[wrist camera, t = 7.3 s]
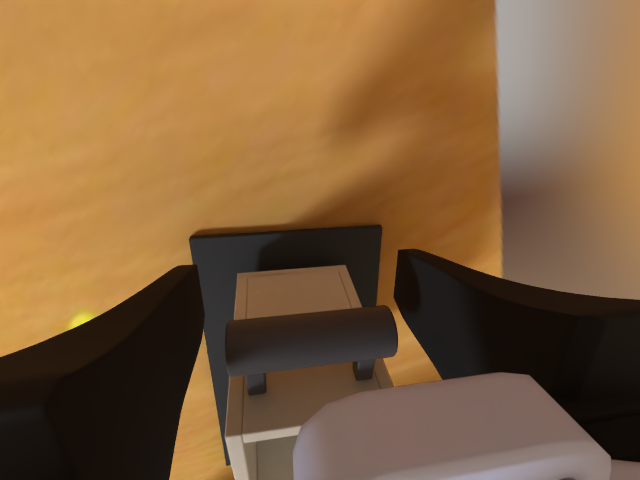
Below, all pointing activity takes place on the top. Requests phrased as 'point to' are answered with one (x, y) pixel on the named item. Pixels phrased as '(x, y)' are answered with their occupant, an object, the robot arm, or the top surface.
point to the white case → (296, 360)
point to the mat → (267, 255)
